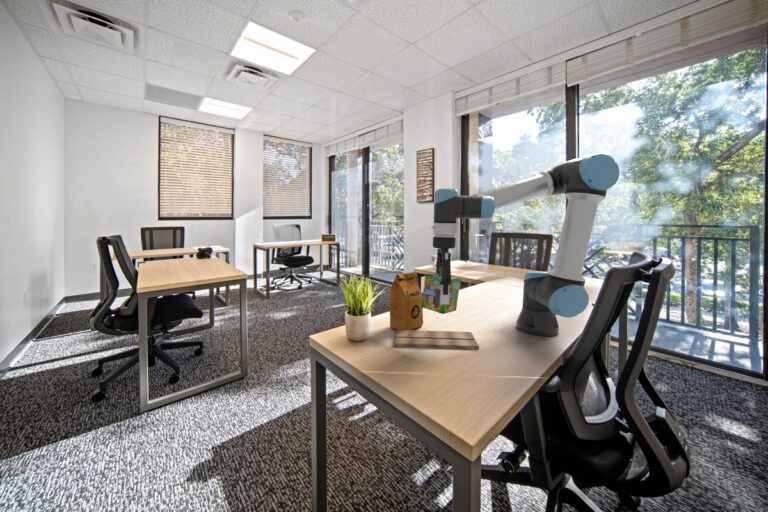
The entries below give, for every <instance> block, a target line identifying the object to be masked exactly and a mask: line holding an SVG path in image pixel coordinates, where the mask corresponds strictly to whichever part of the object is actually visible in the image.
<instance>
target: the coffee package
mask: <svg viewBox="0 0 768 512" xmlns="http://www.w3.org/2000/svg"><path fill="white" fill-rule="evenodd" d="M417 276H418V273H417V271H412V272H407V273H399V274H398V273H397V274H395V277H394V279H393V282H392V285H391V287H390V292H389V328H390V329H391V330H416V329H418V328H422V327H423V325H424V310H423V309H424V308H422V307H421V305H422V297H423V293H422V290H421V288H420V287H419V285H418V284H419V283H418V282H417V278H416V277H417Z"/></svg>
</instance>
